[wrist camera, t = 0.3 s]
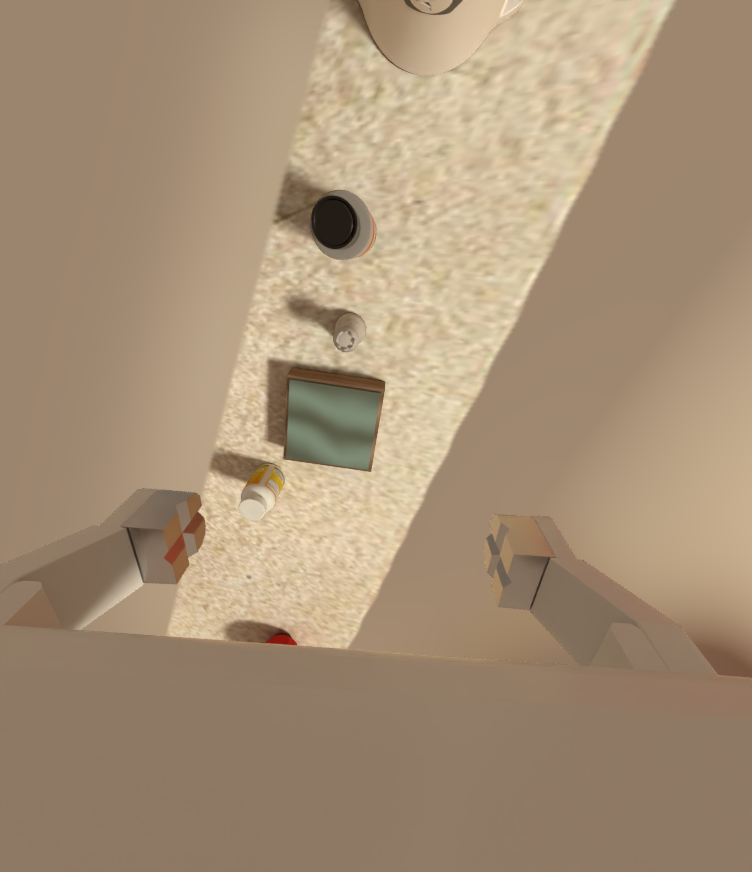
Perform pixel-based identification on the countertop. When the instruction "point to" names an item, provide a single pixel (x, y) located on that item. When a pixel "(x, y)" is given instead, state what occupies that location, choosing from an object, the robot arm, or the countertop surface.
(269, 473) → the supplement bottle
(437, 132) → the countertop surface
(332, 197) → the lotion bottle
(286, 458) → the walnut plinth
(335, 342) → the rook chess piece
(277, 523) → the countertop surface
